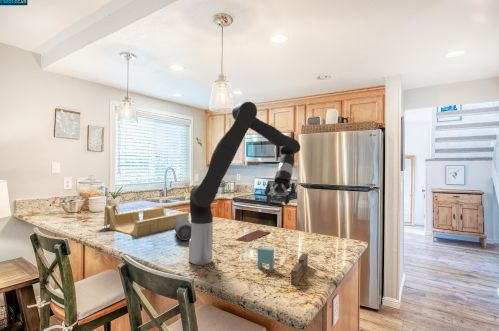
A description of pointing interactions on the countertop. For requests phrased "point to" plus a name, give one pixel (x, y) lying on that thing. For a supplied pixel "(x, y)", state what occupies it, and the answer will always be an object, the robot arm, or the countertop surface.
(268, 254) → the teal notched bridge block
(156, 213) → the skate ramp
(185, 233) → the bluetooth speaker
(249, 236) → the wooden tablet
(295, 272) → the walnut slotted plate
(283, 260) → the countertop surface
